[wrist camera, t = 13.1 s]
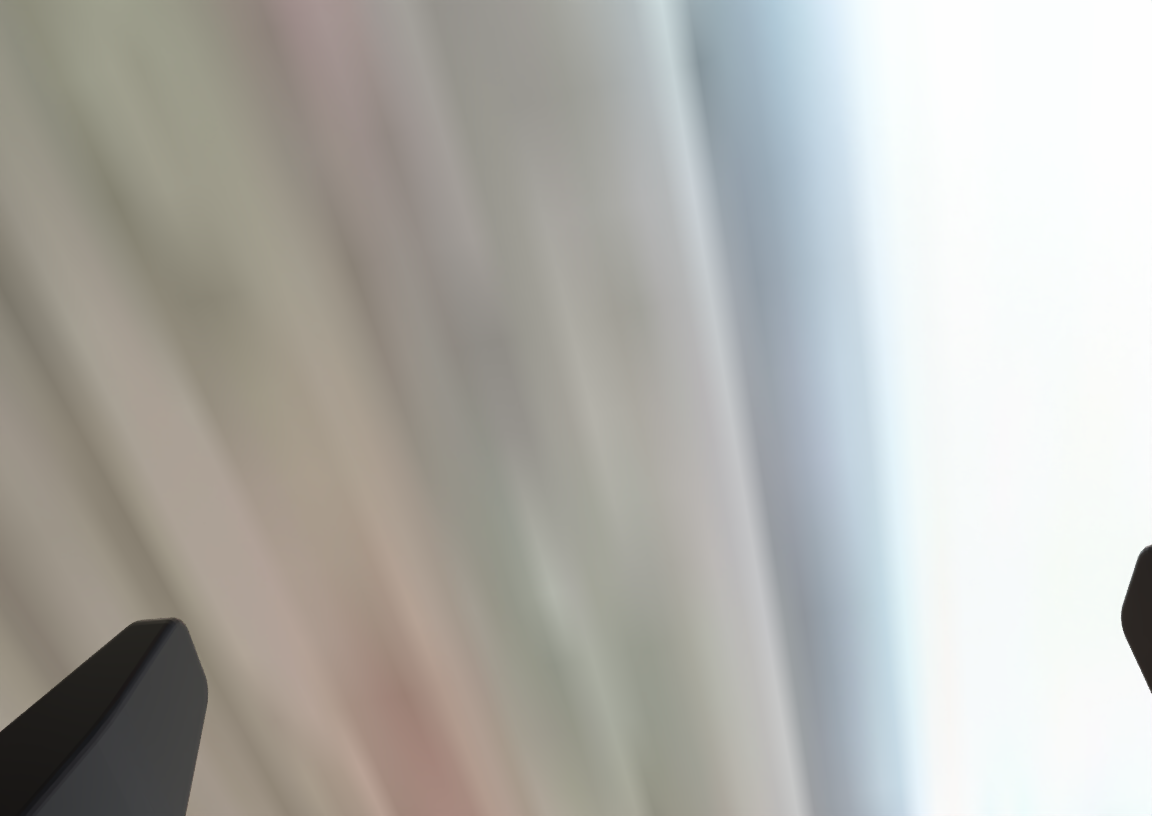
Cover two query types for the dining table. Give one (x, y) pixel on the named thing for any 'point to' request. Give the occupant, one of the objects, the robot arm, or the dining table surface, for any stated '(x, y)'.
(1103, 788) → the dining table surface
